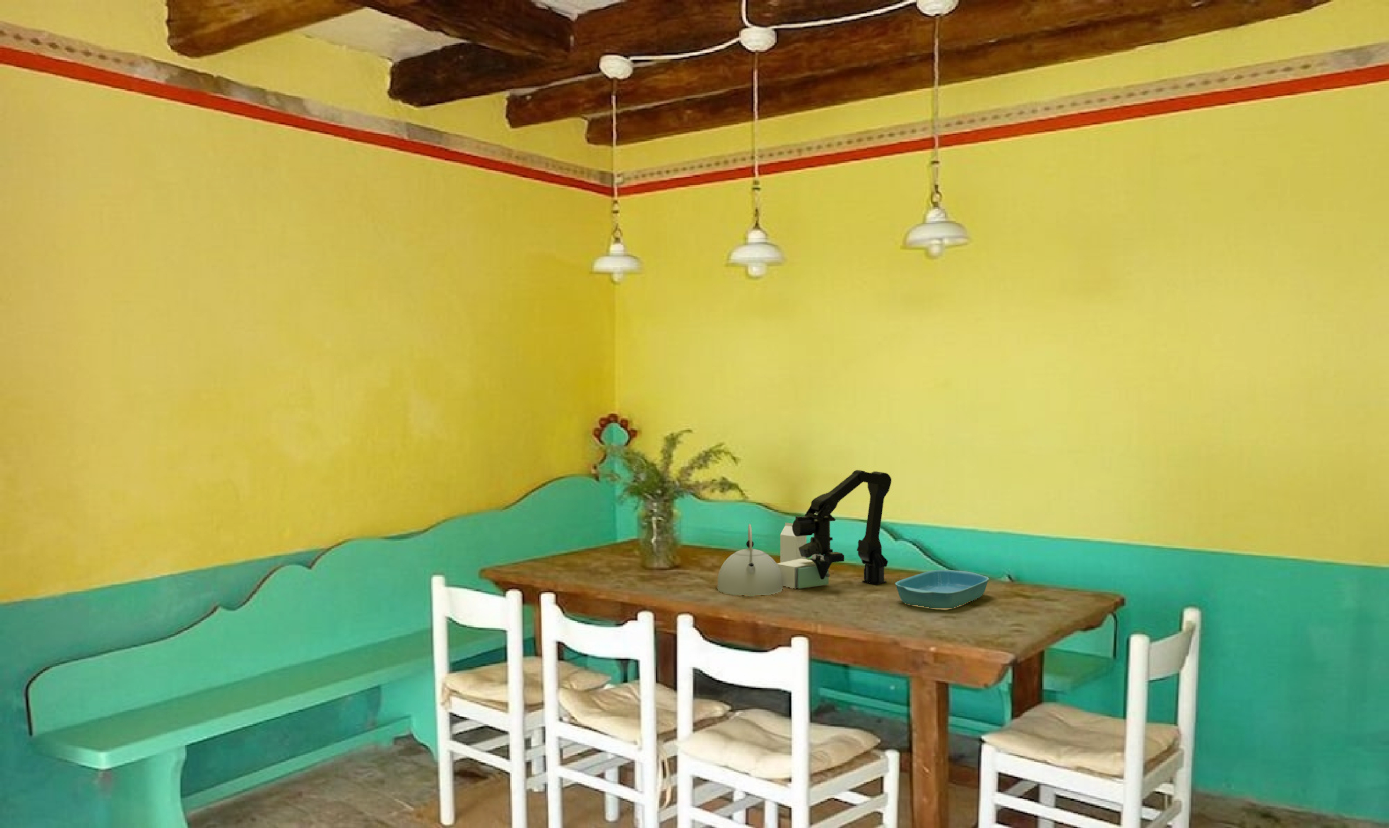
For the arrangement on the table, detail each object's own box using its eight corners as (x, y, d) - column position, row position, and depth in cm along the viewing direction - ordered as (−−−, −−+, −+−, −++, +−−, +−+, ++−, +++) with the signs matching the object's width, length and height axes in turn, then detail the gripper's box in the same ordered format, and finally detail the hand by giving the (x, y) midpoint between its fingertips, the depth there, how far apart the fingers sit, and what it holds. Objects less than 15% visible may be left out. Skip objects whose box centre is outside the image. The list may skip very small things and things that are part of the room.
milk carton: (796, 577, 366) (796, 525, 365) (780, 574, 370) (780, 523, 369) (806, 573, 371) (806, 523, 370) (790, 571, 375) (790, 521, 375)
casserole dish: (947, 616, 306) (947, 593, 306) (884, 605, 321) (884, 583, 321) (998, 596, 334) (999, 575, 334) (937, 587, 349) (938, 566, 349)
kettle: (785, 598, 332) (785, 531, 331) (717, 598, 332) (717, 531, 331) (780, 582, 357) (780, 520, 356) (717, 582, 357) (717, 519, 356)
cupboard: (821, 583, 355) (821, 561, 354) (795, 589, 345) (795, 567, 344) (801, 579, 361) (801, 558, 361) (775, 585, 351) (775, 563, 351)
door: (801, 588, 343) (802, 569, 343) (797, 587, 345) (797, 568, 345) (830, 585, 349) (830, 566, 349) (826, 583, 351) (826, 564, 351)
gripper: (787, 533, 350) (788, 577, 350) (817, 539, 334) (818, 585, 334) (814, 530, 355) (814, 574, 356) (844, 536, 339) (845, 582, 339)
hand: (822, 579), depth 346 cm, fingers closed
